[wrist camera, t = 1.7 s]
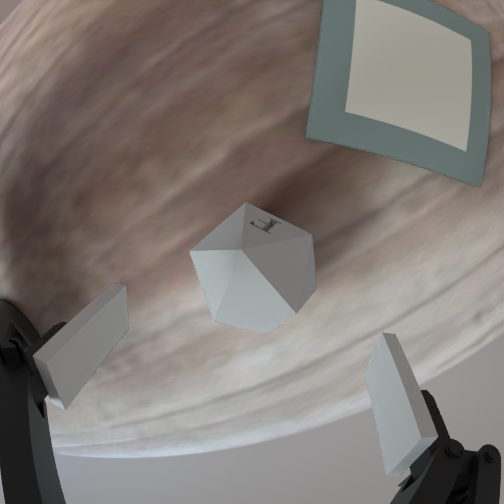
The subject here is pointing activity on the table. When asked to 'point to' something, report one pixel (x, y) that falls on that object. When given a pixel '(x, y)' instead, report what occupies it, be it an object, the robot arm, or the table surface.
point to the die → (255, 269)
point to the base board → (403, 85)
